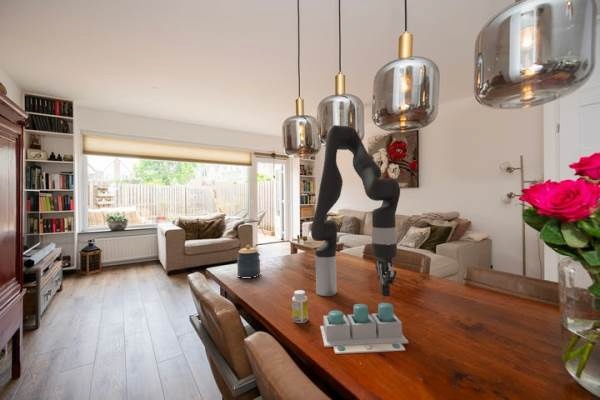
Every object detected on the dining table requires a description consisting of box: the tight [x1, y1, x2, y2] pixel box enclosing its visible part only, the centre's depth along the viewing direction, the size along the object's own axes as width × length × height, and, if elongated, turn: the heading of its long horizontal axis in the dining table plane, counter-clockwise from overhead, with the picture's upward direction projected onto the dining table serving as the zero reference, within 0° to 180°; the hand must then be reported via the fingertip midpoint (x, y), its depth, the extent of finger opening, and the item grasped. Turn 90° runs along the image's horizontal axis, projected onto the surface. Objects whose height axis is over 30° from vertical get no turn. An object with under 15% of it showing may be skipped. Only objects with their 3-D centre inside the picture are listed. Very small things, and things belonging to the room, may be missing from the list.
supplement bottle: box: [291, 289, 309, 324], centre depth 97 cm, size 6×6×10 cm
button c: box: [377, 302, 395, 322], centre depth 86 cm, size 5×5×6 cm
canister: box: [236, 244, 261, 277], centre depth 154 cm, size 13×13×18 cm
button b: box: [353, 303, 369, 323], centre depth 86 cm, size 5×5×6 cm
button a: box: [328, 310, 344, 325], centre depth 86 cm, size 5×5×6 cm
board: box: [319, 312, 409, 348], centre depth 86 cm, size 12×25×5 cm, turn 92°
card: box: [332, 343, 406, 355], centre depth 78 cm, size 3×20×1 cm, turn 92°
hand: (385, 295), depth 86 cm, fingers closed
